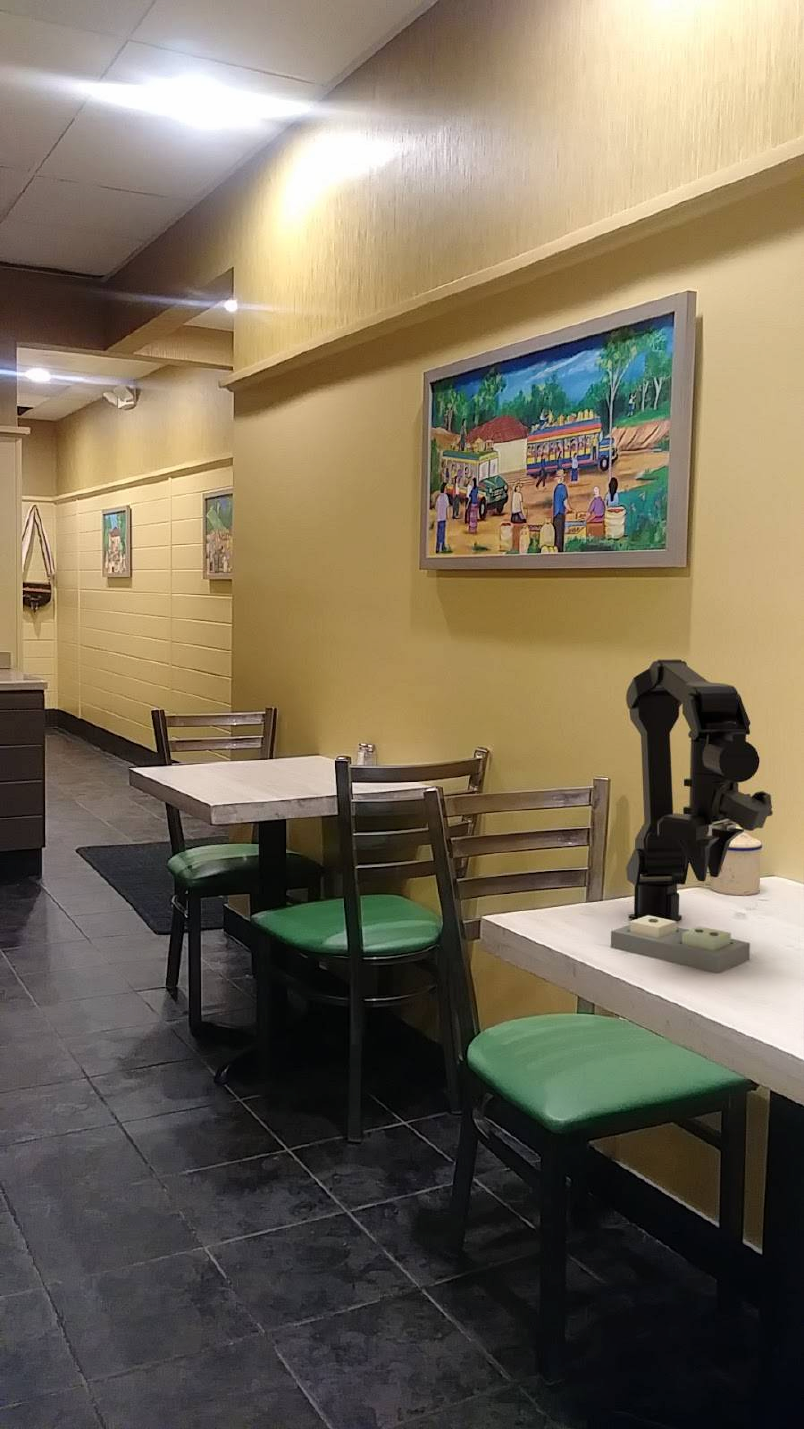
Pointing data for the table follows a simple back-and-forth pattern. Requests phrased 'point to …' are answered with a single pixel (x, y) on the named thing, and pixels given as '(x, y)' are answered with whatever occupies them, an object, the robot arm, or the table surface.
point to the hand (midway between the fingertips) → (707, 878)
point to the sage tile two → (706, 938)
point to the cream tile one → (653, 926)
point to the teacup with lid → (739, 867)
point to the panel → (681, 950)
